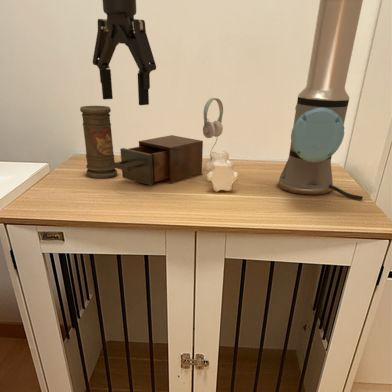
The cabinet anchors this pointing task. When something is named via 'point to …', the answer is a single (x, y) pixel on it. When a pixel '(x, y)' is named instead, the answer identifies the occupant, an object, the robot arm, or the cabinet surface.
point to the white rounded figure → (220, 171)
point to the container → (98, 141)
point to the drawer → (143, 164)
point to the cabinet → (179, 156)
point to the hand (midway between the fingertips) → (125, 102)
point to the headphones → (216, 126)
